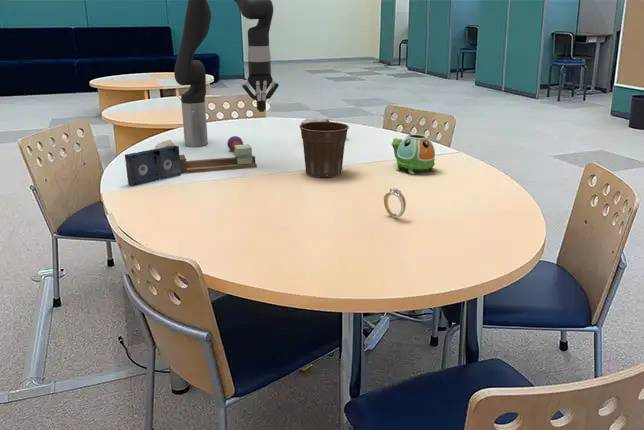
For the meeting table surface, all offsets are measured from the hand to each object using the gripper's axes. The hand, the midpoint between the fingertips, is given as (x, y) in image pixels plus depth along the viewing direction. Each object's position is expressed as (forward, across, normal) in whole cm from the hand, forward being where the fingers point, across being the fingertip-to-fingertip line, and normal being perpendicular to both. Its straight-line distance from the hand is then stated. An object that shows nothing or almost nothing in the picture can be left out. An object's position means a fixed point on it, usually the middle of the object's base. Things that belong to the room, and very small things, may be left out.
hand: (261, 111), depth 206 cm
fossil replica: (+19, +33, -12) cm, 40 cm away
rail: (+19, +16, 0) cm, 25 cm away
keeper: (+17, +7, 0) cm, 19 cm away
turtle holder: (+19, -47, +23) cm, 56 cm away
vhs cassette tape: (+19, +38, +8) cm, 43 cm away
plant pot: (+19, -17, +18) cm, 31 cm away
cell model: (+19, -32, -29) cm, 47 cm away
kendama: (+19, +6, -17) cm, 26 cm away
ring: (+19, -21, +66) cm, 72 cm away
